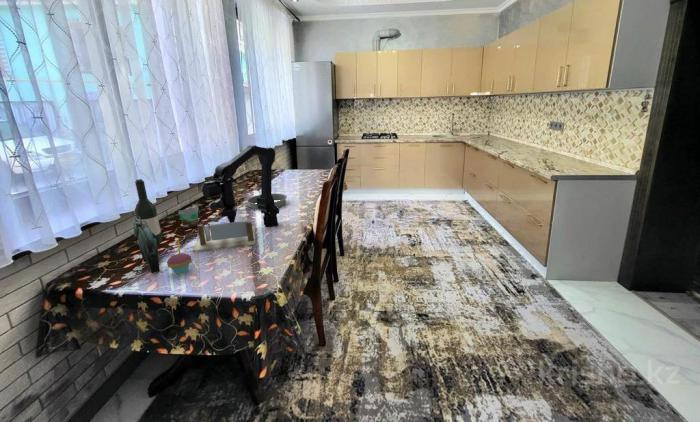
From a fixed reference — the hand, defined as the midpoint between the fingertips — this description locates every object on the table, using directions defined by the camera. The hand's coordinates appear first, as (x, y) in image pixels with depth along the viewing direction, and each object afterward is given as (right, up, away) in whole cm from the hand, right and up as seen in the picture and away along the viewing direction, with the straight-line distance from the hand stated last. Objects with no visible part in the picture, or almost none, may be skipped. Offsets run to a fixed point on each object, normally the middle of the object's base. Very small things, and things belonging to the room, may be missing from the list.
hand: (232, 225), depth 166 cm
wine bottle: (-38, -8, +1) cm, 39 cm away
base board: (-3, -6, +1) cm, 7 cm away
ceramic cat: (-24, -15, -24) cm, 37 cm away
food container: (-28, -1, +23) cm, 36 cm away
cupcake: (-9, -16, -31) cm, 36 cm away
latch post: (+10, -7, -4) cm, 13 cm away
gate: (0, -6, -5) cm, 8 cm away
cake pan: (+3, +10, +57) cm, 58 cm away
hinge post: (-11, -9, -7) cm, 15 cm away
